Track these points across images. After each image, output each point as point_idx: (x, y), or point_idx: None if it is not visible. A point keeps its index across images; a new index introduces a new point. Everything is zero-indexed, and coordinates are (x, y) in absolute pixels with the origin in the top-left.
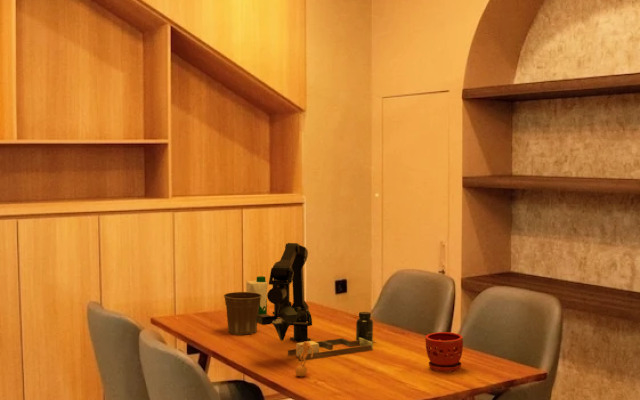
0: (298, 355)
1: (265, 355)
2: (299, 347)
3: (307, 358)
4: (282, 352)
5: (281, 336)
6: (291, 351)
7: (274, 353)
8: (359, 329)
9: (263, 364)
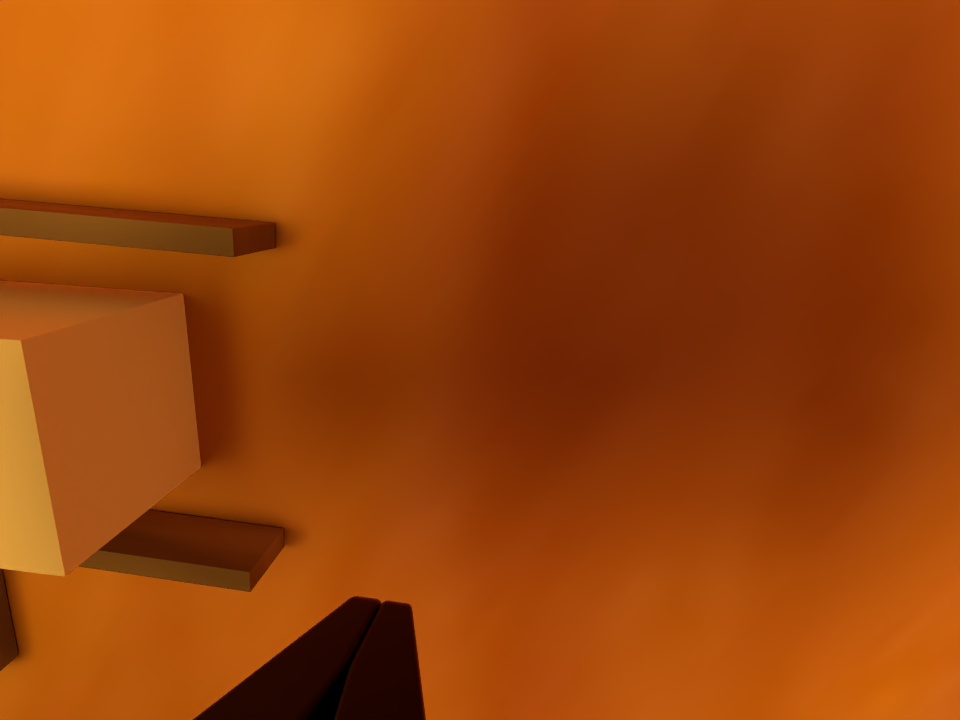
0: (183, 421)
1: (525, 698)
2: None
3: (132, 212)
4: None
5: (395, 681)
6: (216, 553)
7: None
8: None
9: (830, 376)
